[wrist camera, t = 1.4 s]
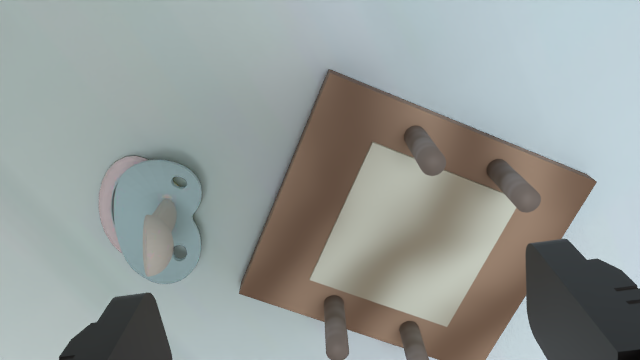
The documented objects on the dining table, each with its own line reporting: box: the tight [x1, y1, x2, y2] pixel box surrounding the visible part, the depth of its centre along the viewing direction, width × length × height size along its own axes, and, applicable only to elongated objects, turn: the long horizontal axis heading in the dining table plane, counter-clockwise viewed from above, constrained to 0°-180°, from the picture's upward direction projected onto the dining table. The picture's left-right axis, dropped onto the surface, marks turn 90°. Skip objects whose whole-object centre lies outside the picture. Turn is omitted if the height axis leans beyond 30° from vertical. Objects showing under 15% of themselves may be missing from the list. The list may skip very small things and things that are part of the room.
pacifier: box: [99, 156, 202, 284], centre depth 29 cm, size 7×6×6 cm
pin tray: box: [239, 69, 596, 360], centre depth 29 cm, size 16×14×6 cm
